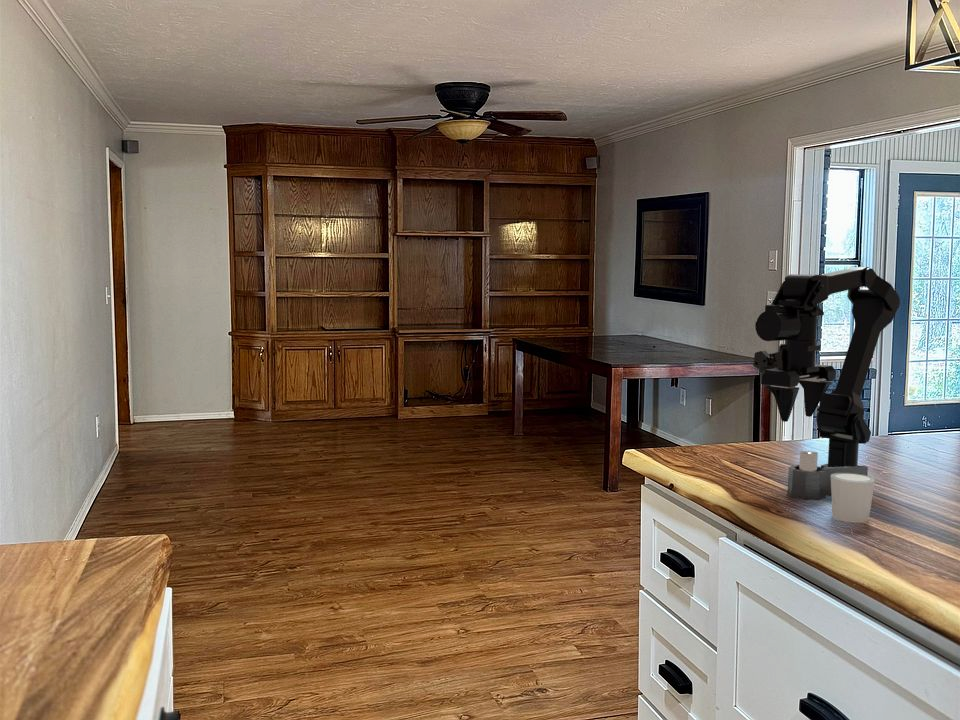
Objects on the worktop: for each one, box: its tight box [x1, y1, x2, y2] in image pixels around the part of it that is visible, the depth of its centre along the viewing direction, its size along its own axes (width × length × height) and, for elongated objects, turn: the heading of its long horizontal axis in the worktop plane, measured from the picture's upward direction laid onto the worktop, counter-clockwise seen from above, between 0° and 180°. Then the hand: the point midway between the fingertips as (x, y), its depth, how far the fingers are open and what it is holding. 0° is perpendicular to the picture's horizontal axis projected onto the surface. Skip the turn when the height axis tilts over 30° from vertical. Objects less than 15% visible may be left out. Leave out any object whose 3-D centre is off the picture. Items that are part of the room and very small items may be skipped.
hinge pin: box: [798, 450, 819, 472], centre depth 160 cm, size 3×3×8 cm
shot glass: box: [830, 473, 876, 524], centre depth 146 cm, size 7×7×7 cm
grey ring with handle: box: [787, 464, 869, 501], centre depth 163 cm, size 14×13×5 cm
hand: (796, 418), depth 172 cm, fingers open, 9 cm apart
